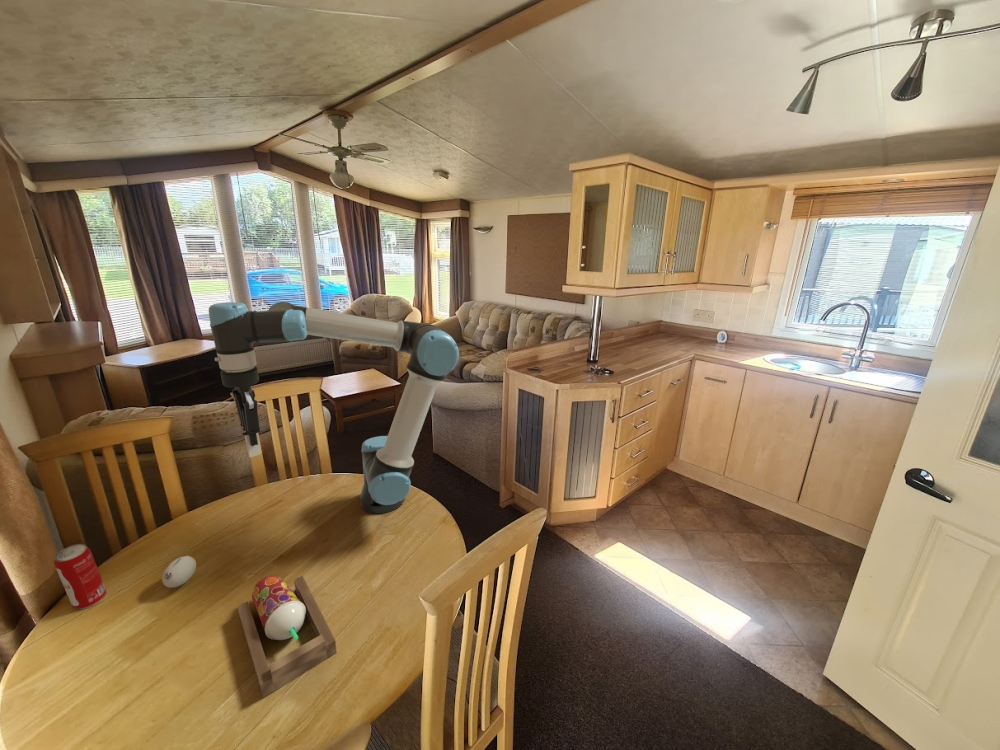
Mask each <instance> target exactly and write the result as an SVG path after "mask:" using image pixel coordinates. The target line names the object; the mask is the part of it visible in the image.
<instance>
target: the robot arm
mask: <svg viewBox="0 0 1000 750" xmlns="http://www.w3.org/2000/svg"><path fill="white" fill-rule="evenodd" d="M269 307H270V308H268V310H260V311H259V310H258V311H256V310H254V311H253V310H249V309H248V307H247V305H246V304H245V303H243V302H239V301H238V302H235V301H234V302H233V301H232V302H229V301H227V302H220V303H213V304H211V305H210V306H209V307H208V316H209V323H210V324H209V327H210V328H211V329H210V330H211V333H212V338H213V343H214V347H215V351H216V355H217V357H214V361H215V362H218V365H219V369H220V373H219V374H220V376H221V377H220V378H221V382H222V385H223V387H226V388H231V393H232V397H233V398H234V403H235V407H236V411H237V414H238V420H239V422H240V423H239V425H240V427H241V428H242V431H243V432H242V437H244V439H245V445H246V450H247V454H248V457H249V458H252V457H256V456H259V455H262V448H261V443H260V437H259V433H260V431H261V429H260V422H259V420H260V419H259V413H258V412H259V411H258V400H257V399H255V397H256V394H255V391H254V389H252V387H251V386H253V385H256V384H257V383H259V381H260V377H259V370H258V367H257V366H256V365H257V364H258V362H257V358H256V352H255V348H254V344H256V343H257V344H260V343H278V342H279V343H281V342H290V343H291V342H294V341H303V340H305V339H307V336H314V337H322V338H327V339H328V338H329V339H336V340H343V341H349V342H356V343H362V344H369V345H376V346H383V347H389V348H393V349H394V350H395V352H401V353H404V354H409V355H410V356H409V359H408V362H407V364H406V370H407V372H408V378H407V381H406V383H405V386H404V388H403V389H404V390H403V392H402V395H401V398H400V400H399V404H398V406H397V410H396V412H395V414H394V417H393V420H392V423H391V426H390V428H389V432H388V434H387V435H380V436H379V435H378V436H374V437H371V438H368V439H366V440H364V441H363V442H362V445H361V450H360V452H361V456H362V471H363V485H362V489H361V491H360V495H359V505H360V507H361V508H362V510H364V511H366V512H367V513H371V514H385V513H390V512H392V511H395V510H397V509H398V508H400V507H401V506H402V505H403V504H404V503H405V501H406V497H407V496H408V495H409V493H410V490H411V479H410V475H411V473H412V470H413V468H414V464H415V460H414V458H413V452H414V450H415V447H416V444H417V442H418V438H419V436H420V432H421V431H422V428H423V425H424V423H425V419H426V417H427V413H429V409H430V405H431V403H432V401H433V398H434V395H435V393H436V389H437V387H438V385H440V384H441V383H444V382H445V381H446V378H447V375H448V374H449V373H450V372H451V373H452V371H453V370H454V369H455V367H456V366H457V364H458V362H459V359H460V358H459V357H460V350H459V347H458V344H457V342H456V341H455V340H454V338H453V337H452V336H451V335H450V334H449V333H448V332H446V331H444V330H442V329H440V328H439V327H438V326H437V325H434V324H431V323H425V322H417V321H415V322H414V321H408V320H407V321H406V320H399V321H397V322H394V321H387V320H382V319H381V320H380V319H378V318H377V319H376V318H370V317H366V316H365V317H364V316H358V315H353V314H348V313H340V312H335V311H329V310H324V309H317V308H312V307H307V306H302V305H301V306H300V305H295V304H293V303H291V302H289V301H278V302H276V303H274V304H273V305H271V306H269ZM232 388H233V389H232ZM403 502H404V503H403ZM402 503H403V504H402ZM401 504H402V505H401ZM400 505H401V506H400ZM399 506H400V507H399ZM396 508H397V509H396ZM394 509H395V510H394Z"/></svg>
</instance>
